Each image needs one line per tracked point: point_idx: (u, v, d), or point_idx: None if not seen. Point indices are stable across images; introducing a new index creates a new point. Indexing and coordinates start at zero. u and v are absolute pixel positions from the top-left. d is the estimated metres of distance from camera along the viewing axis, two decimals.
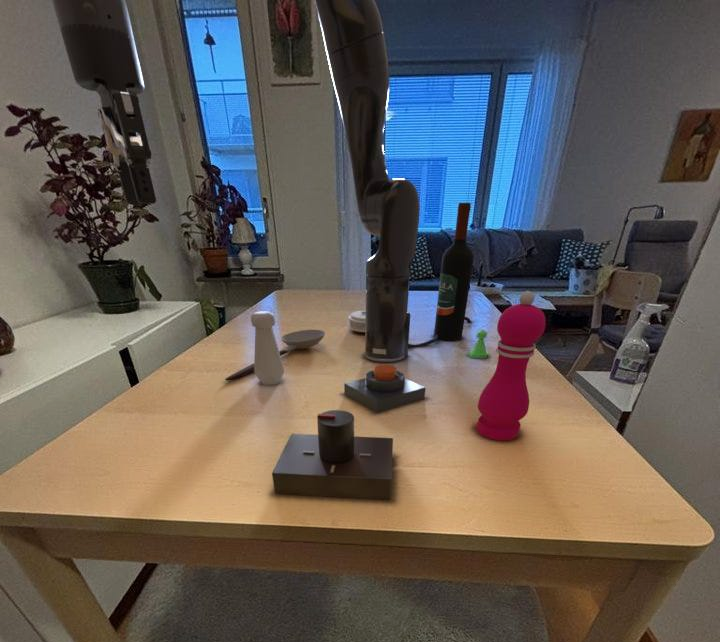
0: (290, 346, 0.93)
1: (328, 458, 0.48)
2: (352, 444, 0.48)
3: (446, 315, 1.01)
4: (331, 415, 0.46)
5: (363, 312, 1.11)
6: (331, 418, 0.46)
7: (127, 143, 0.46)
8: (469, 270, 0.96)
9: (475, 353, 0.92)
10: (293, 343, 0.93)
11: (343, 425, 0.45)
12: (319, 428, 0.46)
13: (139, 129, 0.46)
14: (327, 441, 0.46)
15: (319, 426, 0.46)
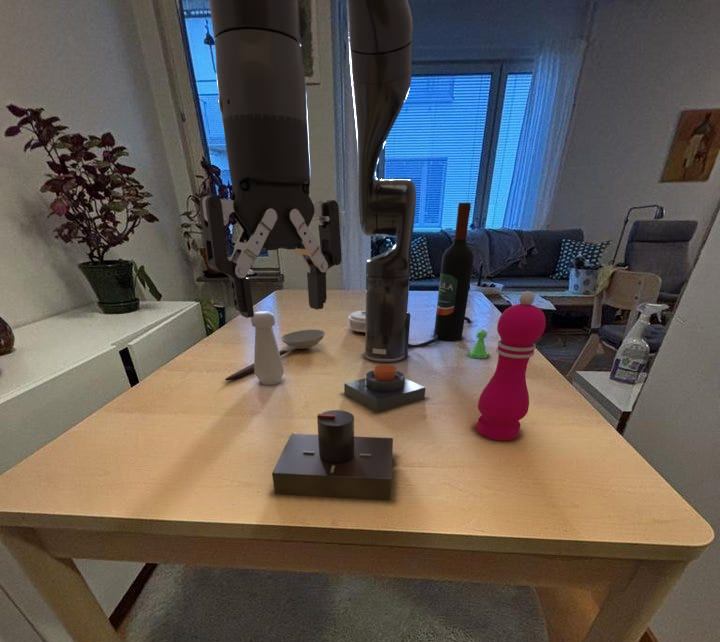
0: (290, 346, 0.93)
1: (328, 458, 0.48)
2: (352, 444, 0.48)
3: (446, 315, 1.01)
4: (331, 415, 0.46)
5: (363, 312, 1.11)
6: (331, 418, 0.46)
7: (207, 255, 0.38)
8: (469, 270, 0.96)
9: (475, 353, 0.92)
10: (293, 343, 0.93)
11: (343, 425, 0.45)
12: (319, 428, 0.46)
13: (210, 239, 0.36)
14: (327, 441, 0.46)
15: (319, 426, 0.46)
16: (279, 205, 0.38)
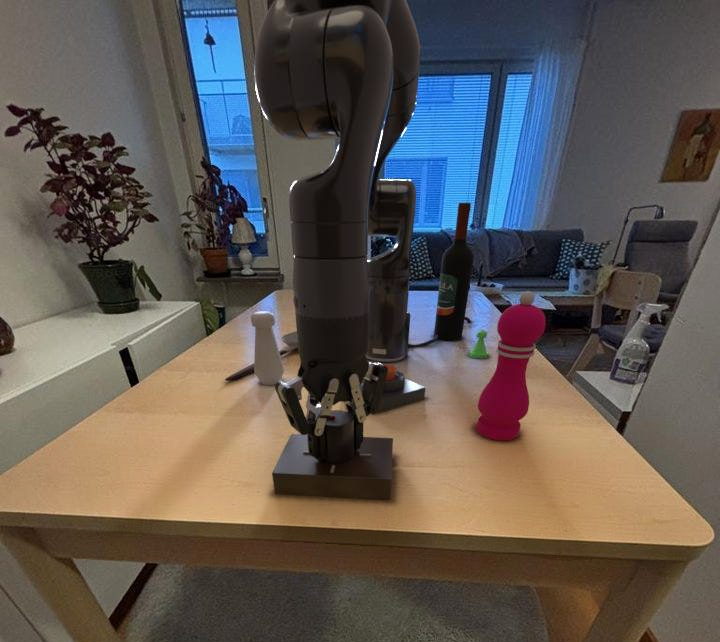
0: (290, 346, 0.93)
1: (328, 458, 0.48)
2: (352, 444, 0.48)
3: (446, 315, 1.01)
4: (331, 415, 0.46)
5: None
6: (331, 418, 0.46)
7: (289, 420, 0.44)
8: (469, 270, 0.96)
9: (475, 353, 0.92)
10: (293, 343, 0.93)
11: (343, 425, 0.45)
12: None
13: (291, 416, 0.42)
14: (327, 441, 0.46)
15: None
16: (340, 371, 0.43)
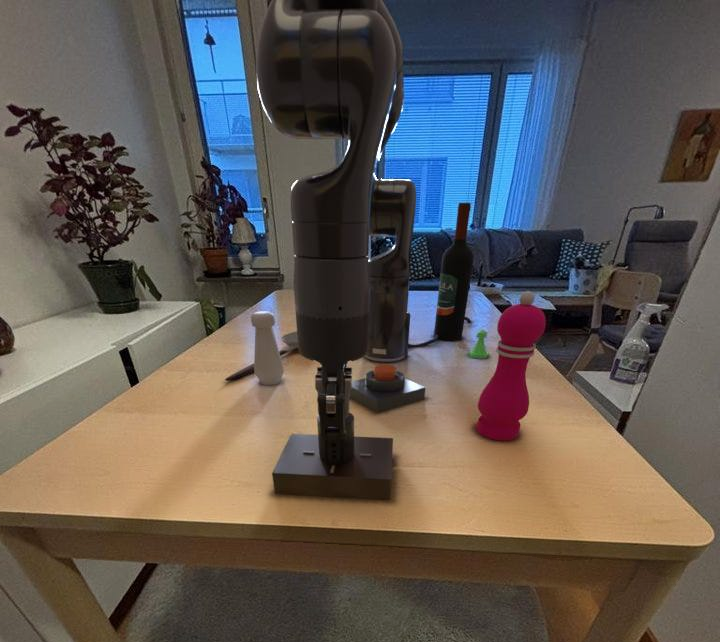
0: (290, 346, 0.93)
1: (345, 457, 0.48)
2: None
3: (446, 315, 1.01)
4: None
5: None
6: None
7: (322, 433, 0.42)
8: (469, 270, 0.96)
9: (475, 353, 0.92)
10: (293, 343, 0.93)
11: (353, 419, 0.47)
12: None
13: (338, 424, 0.41)
14: (345, 441, 0.46)
15: None
16: None
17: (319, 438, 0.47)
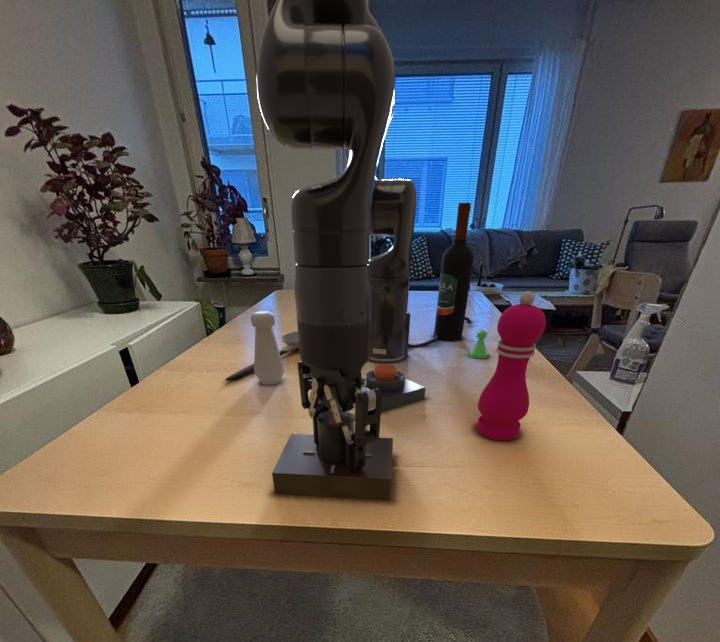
0: (290, 346, 0.93)
1: None
2: None
3: (446, 315, 1.01)
4: None
5: None
6: None
7: (361, 437, 0.41)
8: (469, 270, 0.96)
9: (475, 353, 0.92)
10: (293, 343, 0.93)
11: (351, 414, 0.48)
12: None
13: (376, 421, 0.41)
14: None
15: None
16: None
17: (326, 442, 0.46)
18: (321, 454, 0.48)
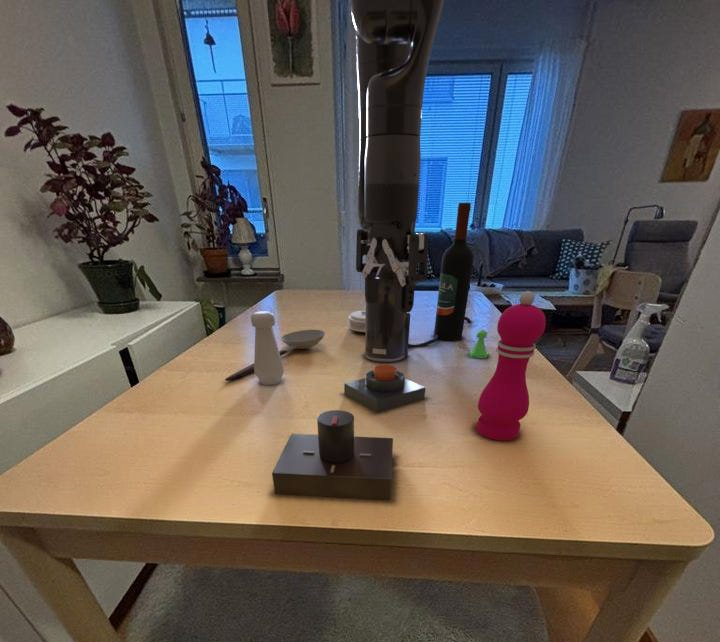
0: (290, 346, 0.93)
1: (352, 453, 0.49)
2: None
3: (446, 315, 1.01)
4: (337, 417, 0.46)
5: (363, 312, 1.11)
6: (338, 419, 0.46)
7: (414, 273, 0.55)
8: (469, 270, 0.96)
9: (475, 353, 0.92)
10: (293, 343, 0.93)
11: (351, 414, 0.48)
12: (345, 431, 0.46)
13: (424, 261, 0.55)
14: (352, 437, 0.47)
15: (345, 429, 0.46)
16: None
17: (326, 442, 0.46)
18: (321, 454, 0.48)
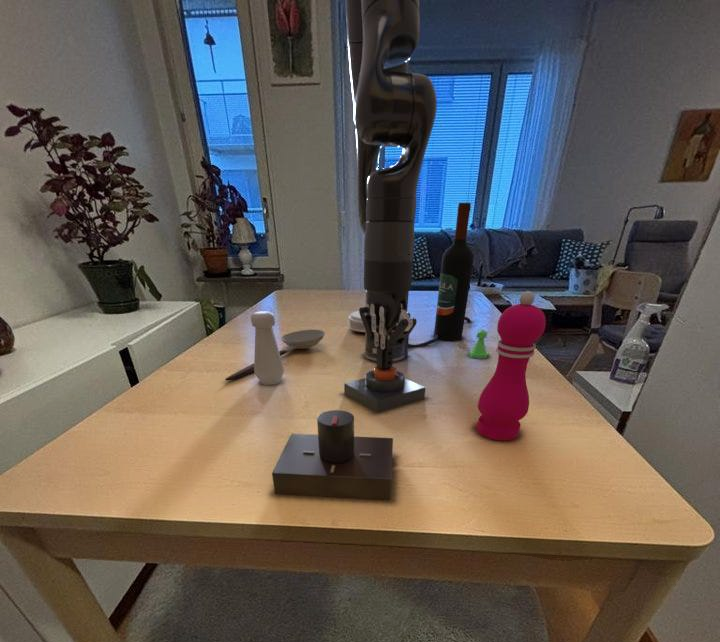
0: (290, 346, 0.93)
1: (352, 453, 0.49)
2: None
3: (446, 315, 1.01)
4: (337, 417, 0.46)
5: None
6: (338, 419, 0.46)
7: (392, 344, 0.64)
8: (469, 270, 0.96)
9: (475, 353, 0.92)
10: (293, 343, 0.93)
11: (351, 414, 0.48)
12: (345, 431, 0.46)
13: (405, 337, 0.64)
14: (352, 437, 0.47)
15: (345, 429, 0.46)
16: None
17: (326, 442, 0.46)
18: (321, 454, 0.48)
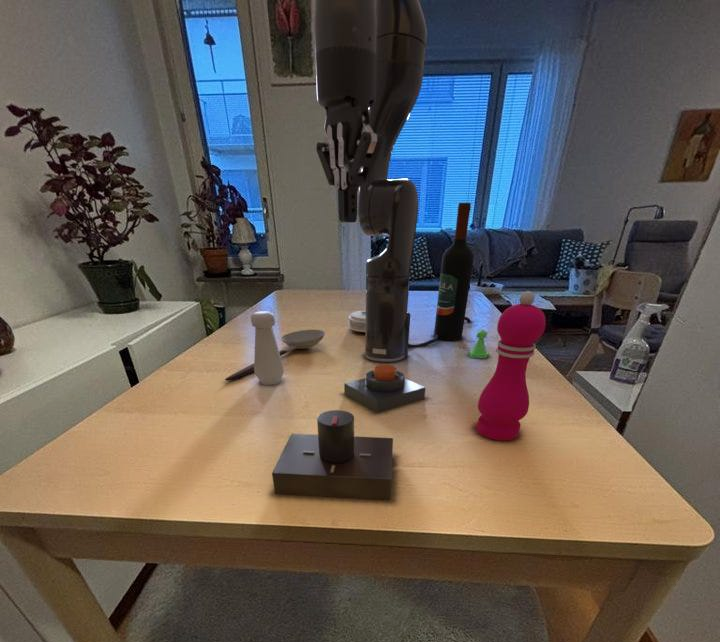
0: (290, 346, 0.93)
1: (352, 453, 0.49)
2: None
3: (446, 315, 1.01)
4: (337, 417, 0.46)
5: (363, 312, 1.11)
6: (338, 419, 0.46)
7: (354, 175, 0.52)
8: (469, 270, 0.96)
9: (475, 353, 0.92)
10: (293, 343, 0.93)
11: (351, 414, 0.48)
12: (345, 431, 0.46)
13: (369, 166, 0.52)
14: (352, 437, 0.47)
15: (345, 429, 0.46)
16: None
17: (326, 442, 0.46)
18: (321, 454, 0.48)
